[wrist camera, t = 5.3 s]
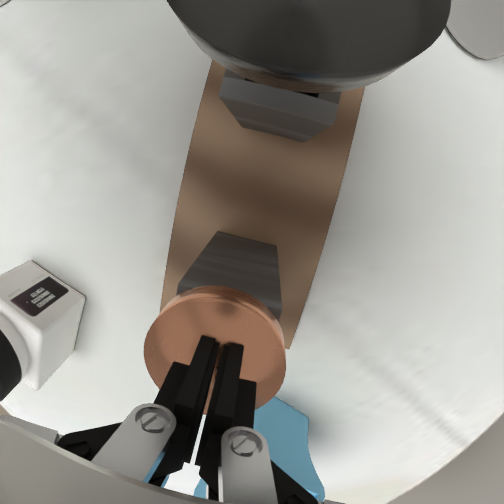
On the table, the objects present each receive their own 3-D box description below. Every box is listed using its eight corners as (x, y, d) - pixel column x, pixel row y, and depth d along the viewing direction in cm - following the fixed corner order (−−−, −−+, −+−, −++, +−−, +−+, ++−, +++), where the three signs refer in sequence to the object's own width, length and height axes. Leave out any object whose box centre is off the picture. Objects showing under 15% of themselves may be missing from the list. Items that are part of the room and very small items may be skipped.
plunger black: (244, 32, 14) (207, -129, 3) (344, 56, 14) (446, -73, 3) (219, 123, 16) (115, 46, 4) (323, 149, 16) (439, 122, 4)
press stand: (227, 27, 20) (196, -63, 8) (365, 61, 20) (433, -5, 9) (164, 309, 27) (105, 398, 15) (288, 340, 27) (297, 446, 15)
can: (440, 46, 19) (523, 0, 7) (431, -16, 17) (493, -75, 5) (501, 72, 19) (586, 50, 7) (491, 11, 17) (560, -26, 5)
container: (30, 258, 26) (-62, 308, 14) (87, 296, 27) (1, 370, 14) (22, 315, 28) (-52, 373, 16) (74, 352, 29) (7, 428, 16)
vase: (315, 420, 29) (334, 595, 10) (264, 454, 31) (257, 607, 12) (258, 385, 28) (243, 588, 9) (209, 423, 30) (172, 591, 11)
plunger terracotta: (210, 222, 22) (150, 283, 11) (287, 241, 22) (305, 322, 11) (195, 293, 24) (140, 396, 12) (267, 310, 24) (264, 427, 12)
